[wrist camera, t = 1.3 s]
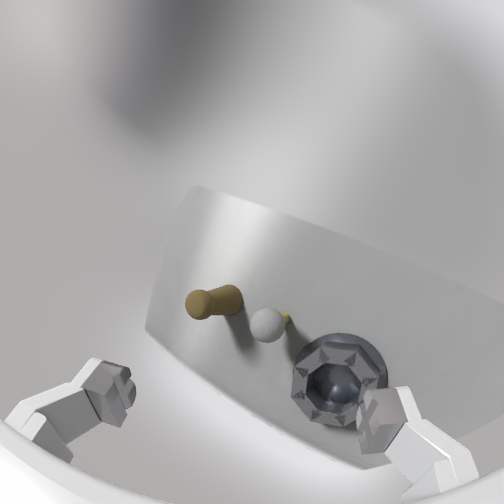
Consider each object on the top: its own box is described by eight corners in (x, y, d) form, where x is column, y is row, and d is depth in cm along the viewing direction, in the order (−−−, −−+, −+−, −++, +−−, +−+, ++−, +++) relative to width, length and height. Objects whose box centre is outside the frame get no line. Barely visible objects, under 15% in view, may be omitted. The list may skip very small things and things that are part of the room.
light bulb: (290, 338, 49) (265, 353, 40) (266, 321, 51) (237, 332, 43) (305, 313, 48) (282, 324, 39) (280, 297, 50) (253, 303, 42)
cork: (235, 320, 55) (199, 330, 45) (213, 304, 57) (175, 310, 48) (247, 294, 54) (212, 299, 44) (224, 279, 56) (186, 281, 47)
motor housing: (394, 337, 40) (393, 345, 36) (376, 425, 39) (373, 438, 35) (298, 327, 48) (288, 333, 44) (290, 410, 48) (280, 420, 44)
